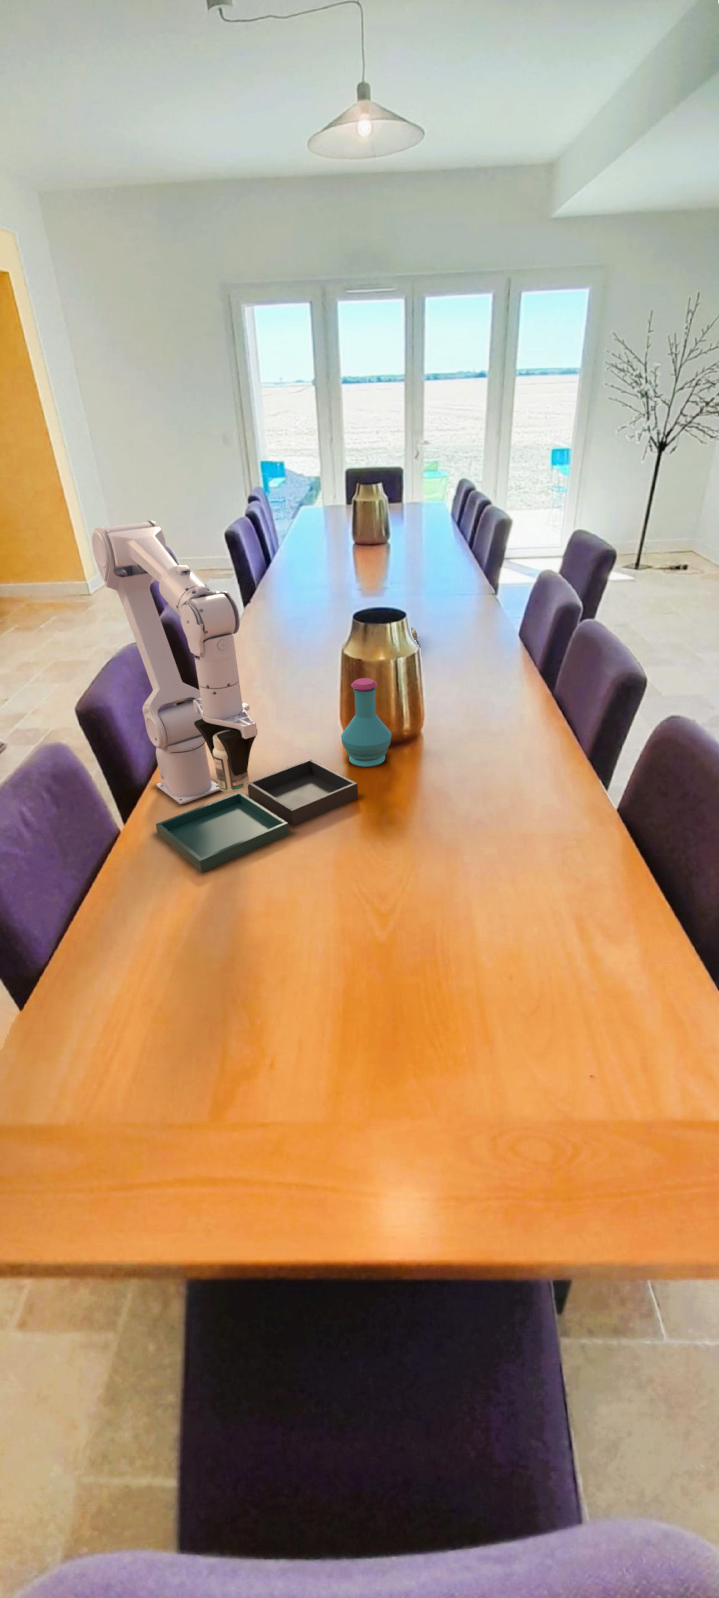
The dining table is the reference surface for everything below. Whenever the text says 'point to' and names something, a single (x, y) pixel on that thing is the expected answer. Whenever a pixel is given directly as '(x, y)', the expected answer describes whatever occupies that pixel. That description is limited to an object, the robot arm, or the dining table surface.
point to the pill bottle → (227, 769)
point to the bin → (302, 791)
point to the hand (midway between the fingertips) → (231, 767)
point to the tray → (221, 830)
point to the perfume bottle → (365, 728)
